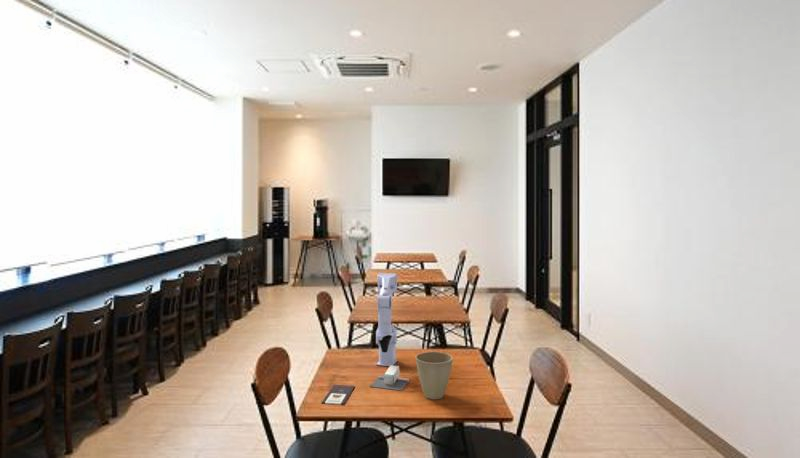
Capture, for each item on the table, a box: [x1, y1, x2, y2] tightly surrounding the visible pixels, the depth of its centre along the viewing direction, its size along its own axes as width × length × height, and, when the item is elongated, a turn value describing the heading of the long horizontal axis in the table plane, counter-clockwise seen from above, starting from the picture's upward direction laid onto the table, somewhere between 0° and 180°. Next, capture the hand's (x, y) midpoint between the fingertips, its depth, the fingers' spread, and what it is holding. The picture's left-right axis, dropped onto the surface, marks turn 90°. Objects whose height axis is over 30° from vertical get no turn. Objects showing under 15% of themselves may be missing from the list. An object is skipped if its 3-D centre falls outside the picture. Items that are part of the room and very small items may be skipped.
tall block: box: [383, 365, 400, 385], centre depth 212 cm, size 4×4×9 cm
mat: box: [369, 379, 409, 392], centre depth 209 cm, size 9×14×1 cm, turn 73°
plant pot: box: [415, 351, 454, 400], centre depth 197 cm, size 15×15×16 cm
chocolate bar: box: [321, 384, 356, 406], centre depth 198 cm, size 9×1×18 cm
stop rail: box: [376, 375, 410, 383], centre depth 214 cm, size 2×14×1 cm, turn 73°
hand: (384, 351), depth 220 cm, fingers closed
